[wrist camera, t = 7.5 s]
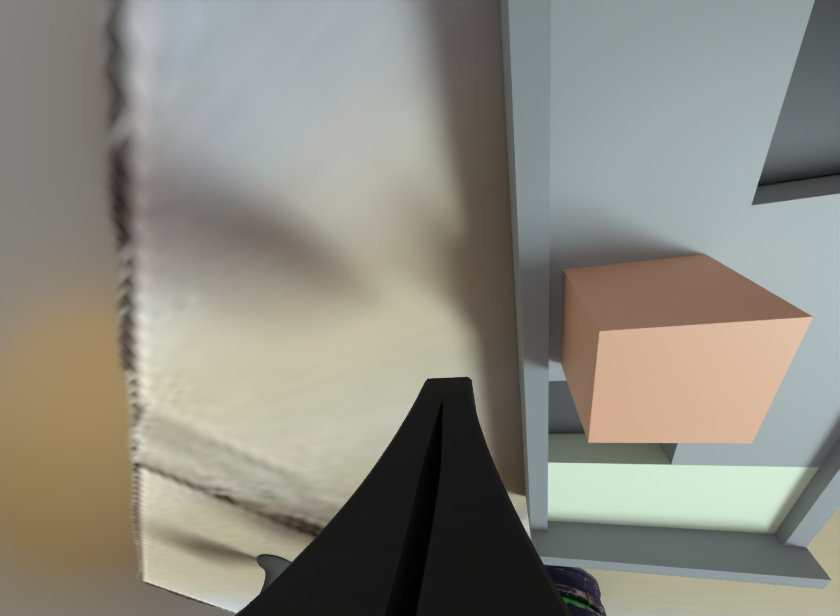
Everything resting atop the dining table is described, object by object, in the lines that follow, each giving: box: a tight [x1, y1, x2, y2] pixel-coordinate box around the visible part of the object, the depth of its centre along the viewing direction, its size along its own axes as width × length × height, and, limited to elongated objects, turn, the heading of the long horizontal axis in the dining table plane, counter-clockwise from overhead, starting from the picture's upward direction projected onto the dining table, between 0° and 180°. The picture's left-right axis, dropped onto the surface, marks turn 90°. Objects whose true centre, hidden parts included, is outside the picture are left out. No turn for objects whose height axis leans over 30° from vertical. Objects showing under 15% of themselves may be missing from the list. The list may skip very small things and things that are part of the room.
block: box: [561, 254, 813, 443], centre depth 11 cm, size 4×4×4 cm
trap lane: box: [500, 0, 840, 589], centre depth 12 cm, size 14×32×4 cm, turn 11°
